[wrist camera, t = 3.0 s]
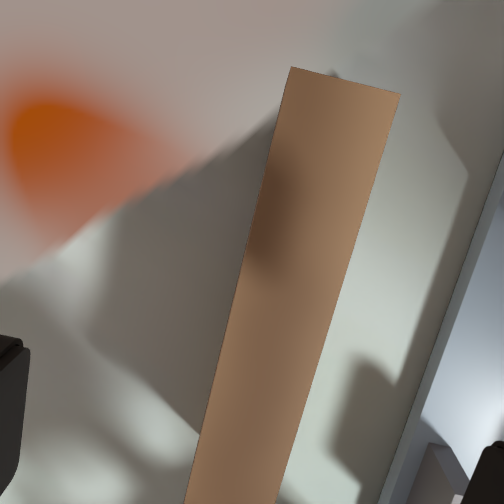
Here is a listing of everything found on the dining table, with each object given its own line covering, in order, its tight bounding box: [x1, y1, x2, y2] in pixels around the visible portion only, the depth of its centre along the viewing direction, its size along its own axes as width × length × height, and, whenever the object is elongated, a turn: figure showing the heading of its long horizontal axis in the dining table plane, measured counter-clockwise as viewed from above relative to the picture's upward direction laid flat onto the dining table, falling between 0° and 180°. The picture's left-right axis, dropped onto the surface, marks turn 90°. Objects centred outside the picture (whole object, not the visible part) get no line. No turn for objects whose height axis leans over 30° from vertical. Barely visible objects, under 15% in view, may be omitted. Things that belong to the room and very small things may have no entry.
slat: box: [183, 67, 401, 504], centre depth 17 cm, size 3×16×6 cm, turn 167°
